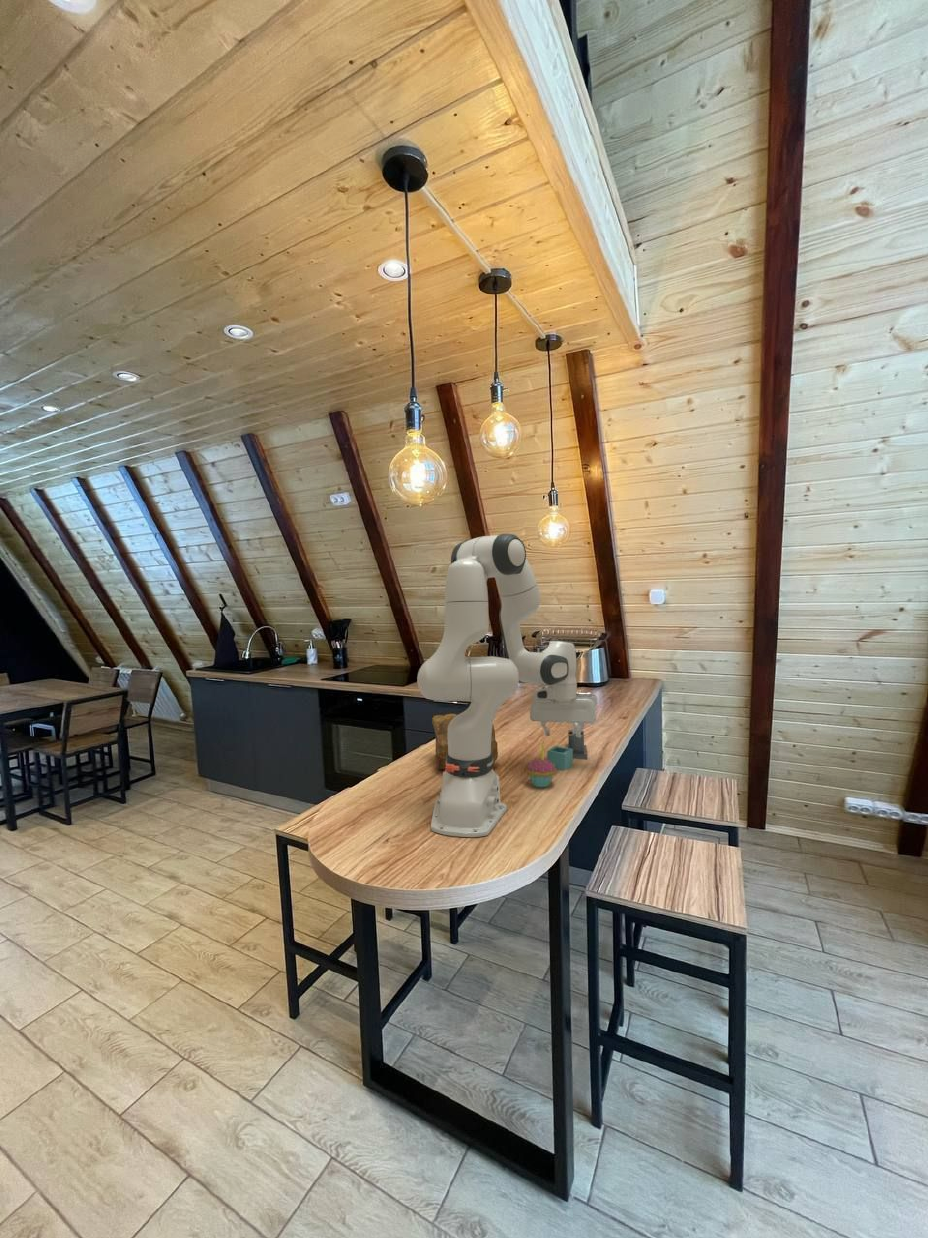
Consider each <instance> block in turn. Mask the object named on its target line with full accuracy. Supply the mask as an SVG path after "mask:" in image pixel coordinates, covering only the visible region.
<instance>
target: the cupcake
mask: <svg viewBox="0 0 928 1238" xmlns="http://www.w3.org/2000/svg"><path fill="white" fill-rule="evenodd" d="M525 768H526V769H525V773H526V775H528V776H529V777H530V780H531V784H532V785H533V786H534V787H536V788H547V787H549V786H550V783H551V779H552V778H553V776H554V775H556V774H557V768H555V765H554V764H553V763H552V762H550V761H548V760H547V758H545V744H544V741H543V740H542V743H541V757H540V758H534V759H533V760H531V761H529V762H528V763H527V764H526V766H525Z"/></svg>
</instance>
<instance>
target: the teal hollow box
mask: <svg viewBox="0 0 928 1238" xmlns="http://www.w3.org/2000/svg"><path fill="white" fill-rule="evenodd" d="M546 755H547V756H546V760H548V761H550V762H552V763H553V764H554V765H555V768H556V770H557V769H558V770H561V771H562V770H563V771H566V770H567V769H569V768H570V767H571V766H573V764H574V761H573V760H574V759H573V749H571V748H566V746H564V747H563V746H559V745H554V746H552V747H551V748H550V749H548V750H546Z"/></svg>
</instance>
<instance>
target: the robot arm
mask: <svg viewBox="0 0 928 1238" xmlns="http://www.w3.org/2000/svg"><path fill="white" fill-rule="evenodd" d="M526 550H527V549H526V547H525V544H524V542H523V540H521V539H520V538H519V537H518V535H516V534H512V533H500V534H495V535H483V536H478V537H475V538H472V539H469V540H468V539H467V540H464V541H463V540H462V541H461V542H459V543H458V544H457V545H455V546H454V548H453V549H452V551H451V555H450V565H449V566H448V568H447V573H446V580H445V589H444V628H443V629H444V630H443V636H442V639H441V642H440V644H439V645H438V647H437V649H436V651H435V652H433V654H432V655H431V656H430V657H429V658H428V659H427V660H425V661H424V662H423V663H422V665H421V666H420V668H419V669H418V672H417V677H416V679H417V681H416V683H417V687H418V690H419V692H420V694H421V695H422V696H423V697H424V698H425V699H427V700H432V701H439V702H463V701H464V702H465V701H469V702H470V704H469V706H468V708H467V709H465V710H464V711H462V712H461V713H459V714H456V715H457V716H455V717H454V718H453V719H452V720H451V721H450V723H449V725H448V753H447V757H446V767H445V769H444V770H443V772H442V783H441V791H439V792H438V797H439V798H436V799H435V800H434V804H433V805H434V806H433V811H432V817H431V821H430V830H431V831H432V832H434V833H437V834H441V835H445V836H451V837H459V838H460V837H461V838H477V837H485V836H487V835H489V834H490V833H491V832H492V830H493V829H494V828H495V826H496V825H497V824H498V822H499V821H500V820H501V819H502V818H503V816H504V815H505V813H506V811H507V810H508V808H507V807H508V806H507V804H506V803H503V802H501V793H500V792H501V791H500V789H501V787H500V777H499V775H498V774H497V773H496V772H495V771H494V769H493V768H494V764H493V753H492V752H491V733H492V724H493V725H494V720H495V717H496V715H497V712H498V711H499V709H500V708H501V706H502V705H503V704H504V703H505V702H506V701H507V700H508V699H510V698H511V696H513V694H515V692H516V691H517V689H518V686H519V684H531V685H540V686H541V687H539V688H535V690H533V697H534V698H533V699H532V701H531V703H530V708H529V718H530V720H531V722H540V723H541V724H540V725H541V728H542V729H543V731H544V736H545V737H546V736H547V737H550V736H551V729H550V728H547V726H546V725H547V722H548V723H566V724H567V723H568V724H570V723H571V724H572V723H580V729H579V731H578V730H576V737H581V731H584V728H585V724H590V725H591V724H592V725H594V724H595V723H596V722H597V714H596V707H597V705H598V697H597V695H595V694H593V693H592V692H582V691H581V692H580V691H578V690H577V689H578V688H577V687H578V683H577V682H578V681H577V679H576V672H577V653H576V649H575V648H576V647H575V644H574V643H573V642H571V641H567V640H561V639H552V640H550V641H549V643H548V646H547V647H546V648H545V649H543V650H542V651H541V652H536V651H528V650H527V649H526V648H525V647H524V642H523V639H522V631H521V622H522V621H525V620H526V619H527V618H530V616H533V615H534V614H535V613H536V612H537V610H538V608H539V607H540V603H541V593H540V589H539V586H538V585H539V584H538V582H537V580H536V575H535V573H534V570H533V568H532V566H531V564H530V562H529V561H528V559H527V551H526ZM490 578H494V579H495V582H496V586H497V590H498V594H499V596H500V600H501V608H500V609H499V614H498V617H499V625H500V626H499V627H500V632H501V637H502V641H503V647H504V653H505V657H500V656H494V655H490V656H489V655H488V656H466V651H467V649H468V648H469V647H470V646H471V645H474V644H476V643H478V642H479V641H481V640H483V639H484V638H485V637H486V636H487V634H488V633H489V629H490V625H489V623H490V620H489V619H490V618H489V617H490V615H489V593H488V585H487V584H488V583H487V582H488V579H490Z"/></svg>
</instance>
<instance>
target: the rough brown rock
mask: <svg viewBox="0 0 928 1238" xmlns="http://www.w3.org/2000/svg"><path fill="white" fill-rule="evenodd" d="M457 715H458V714H456V713H449V714H448V713H447V714H444V715H443V714H438V715H437V714H436V715H433V717H432V722H431V723H432V725H433V730H434V735H435V759H436V763H437V768H438V770H445V767H446V757H447V753H448V725H449V723H450V721H451V720H452V719H453V718H454V717H455V716H457ZM495 732H496V731H495V725H494V723H493V724H492V733H491V752H492V753H493V765H494V764H495V763H496V761H497V759H498V757H499V751H498V741H496V733H495Z"/></svg>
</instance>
